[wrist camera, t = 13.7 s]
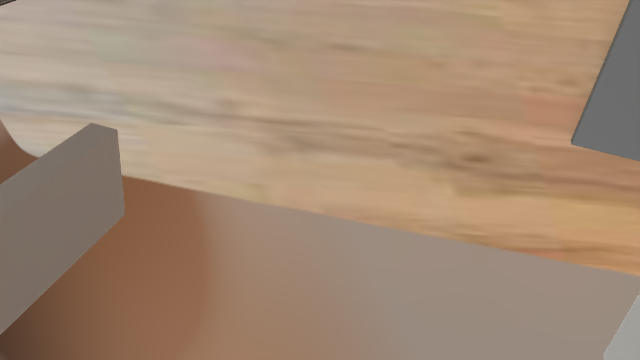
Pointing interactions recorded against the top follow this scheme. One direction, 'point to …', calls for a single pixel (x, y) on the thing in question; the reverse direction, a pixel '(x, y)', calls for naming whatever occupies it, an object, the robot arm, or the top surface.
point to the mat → (616, 95)
